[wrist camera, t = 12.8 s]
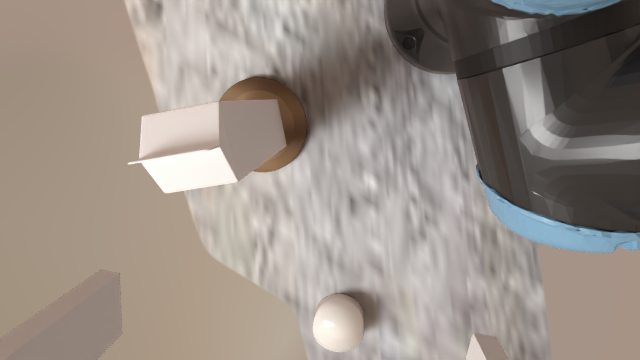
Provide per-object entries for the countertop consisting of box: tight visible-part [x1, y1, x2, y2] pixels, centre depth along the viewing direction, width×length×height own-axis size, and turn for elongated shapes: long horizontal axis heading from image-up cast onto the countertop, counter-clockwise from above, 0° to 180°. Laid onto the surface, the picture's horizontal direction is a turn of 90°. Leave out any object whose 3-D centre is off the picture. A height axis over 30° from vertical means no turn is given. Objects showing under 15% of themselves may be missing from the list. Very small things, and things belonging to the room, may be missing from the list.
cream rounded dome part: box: [313, 294, 364, 352], centre depth 47 cm, size 7×7×4 cm
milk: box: [128, 99, 287, 193], centre depth 32 cm, size 6×6×22 cm
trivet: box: [220, 78, 307, 172], centre depth 43 cm, size 12×12×1 cm
